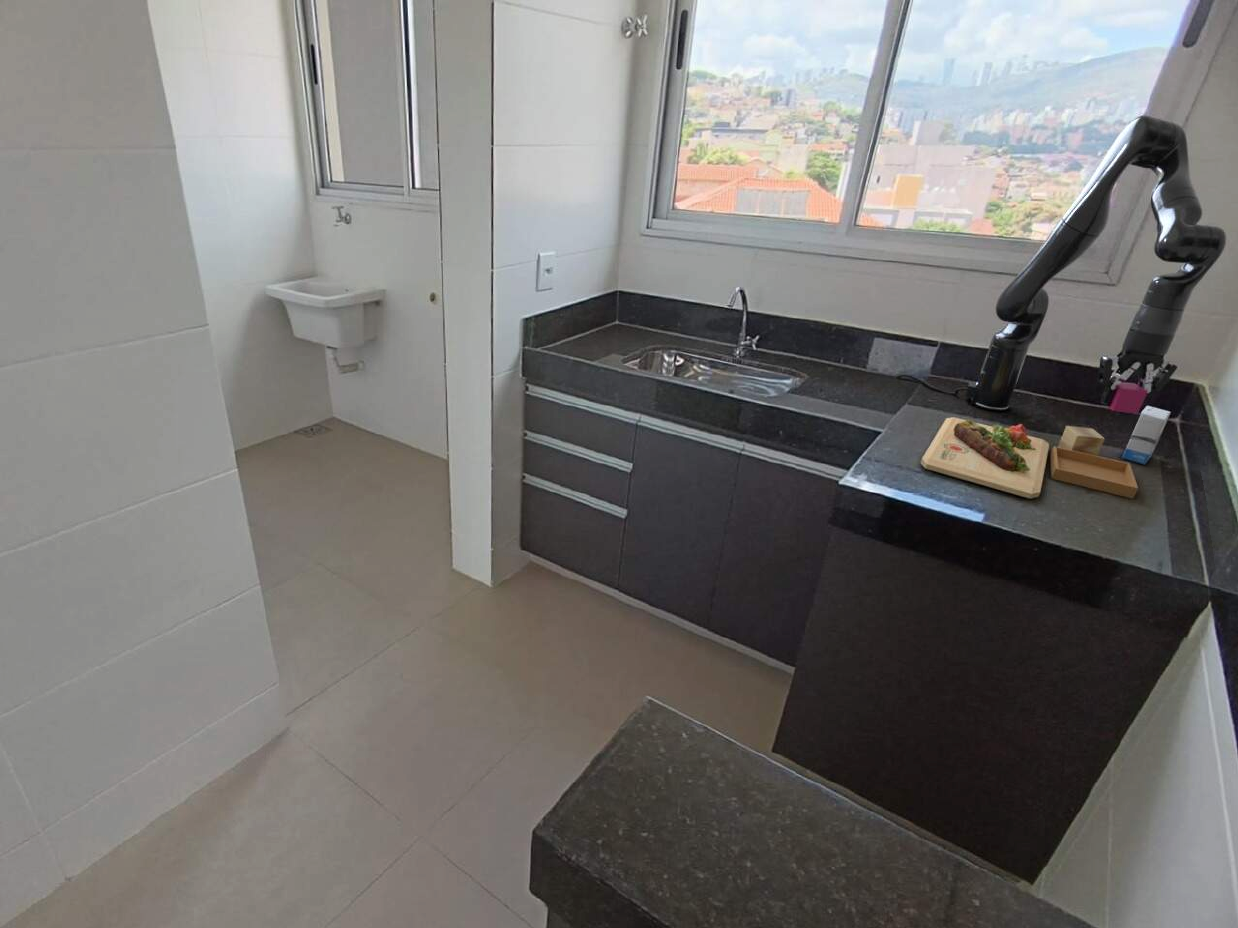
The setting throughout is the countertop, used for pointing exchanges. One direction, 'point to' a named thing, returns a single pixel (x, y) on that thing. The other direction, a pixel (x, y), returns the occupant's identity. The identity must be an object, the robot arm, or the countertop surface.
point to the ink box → (1146, 434)
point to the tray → (1093, 472)
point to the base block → (1081, 440)
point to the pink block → (1128, 398)
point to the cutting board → (989, 456)
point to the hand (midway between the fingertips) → (1119, 406)
